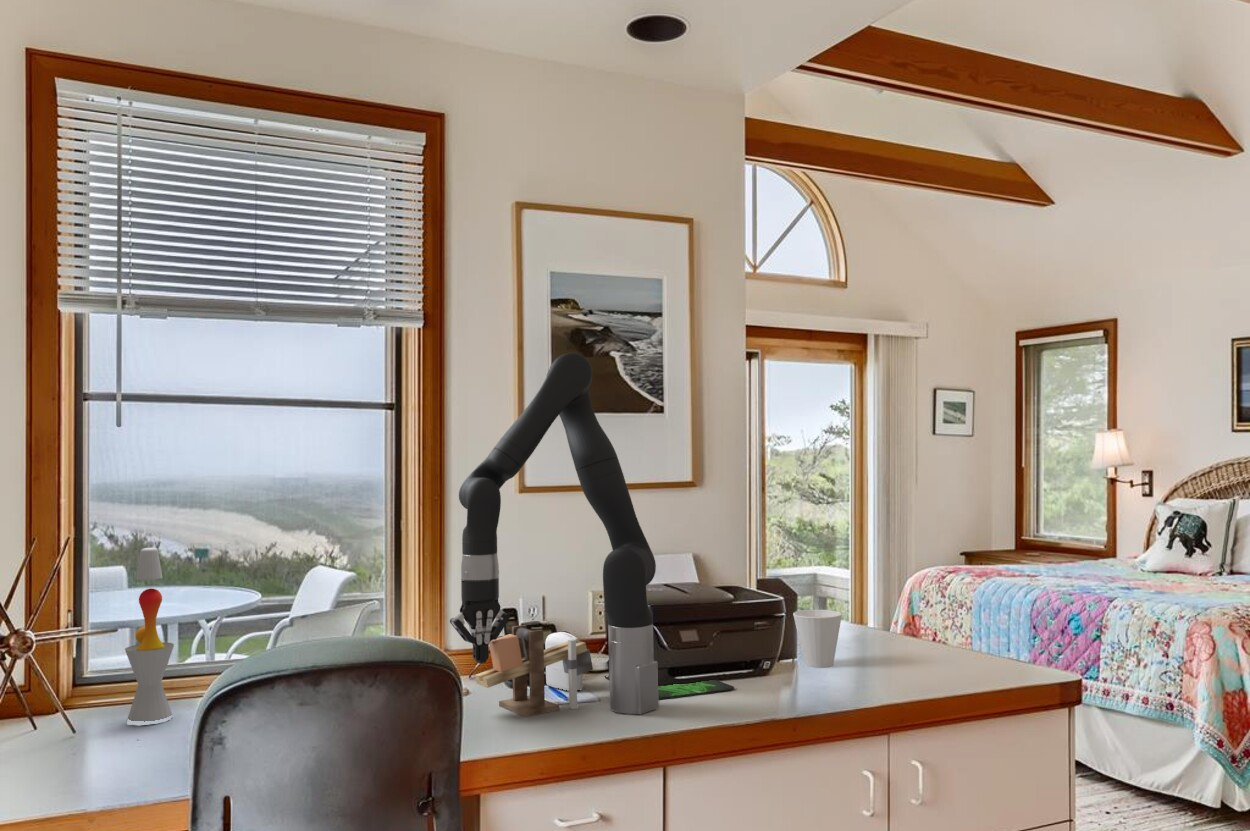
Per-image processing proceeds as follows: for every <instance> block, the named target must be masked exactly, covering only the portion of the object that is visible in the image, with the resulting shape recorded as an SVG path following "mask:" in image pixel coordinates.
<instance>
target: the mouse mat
mask: <svg viewBox="0 0 1250 831" xmlns="http://www.w3.org/2000/svg"><path fill="white" fill-rule="evenodd" d="M606 676H607V675H605V676H603V678H604V677H605V679H606V680H607V681H609V676H608V677H606ZM734 689H735V686H733V685H731V684H728V683H725V682H723V681H721V680H719V679H715V680H709V681H701V682H696V683H690V684H673V685H667V686H658V696H659V701H662V700H667V699H676V698H683V697H684V698H685V697H693V696H700V695H707V694H716V693H723V692H731V691H734Z"/></svg>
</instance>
